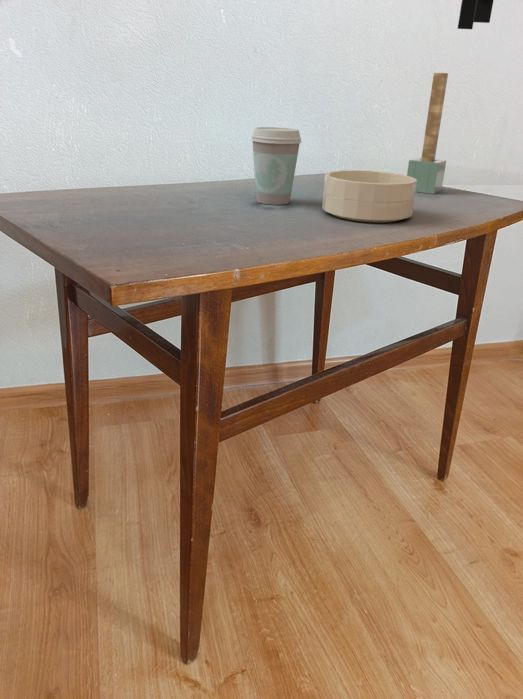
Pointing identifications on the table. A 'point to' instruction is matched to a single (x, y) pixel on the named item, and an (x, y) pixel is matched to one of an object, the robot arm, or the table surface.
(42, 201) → the table surface
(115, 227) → the table surface
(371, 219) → the bowl
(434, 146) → the stick
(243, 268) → the table surface
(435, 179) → the holder
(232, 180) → the table surface
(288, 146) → the coffee cup
